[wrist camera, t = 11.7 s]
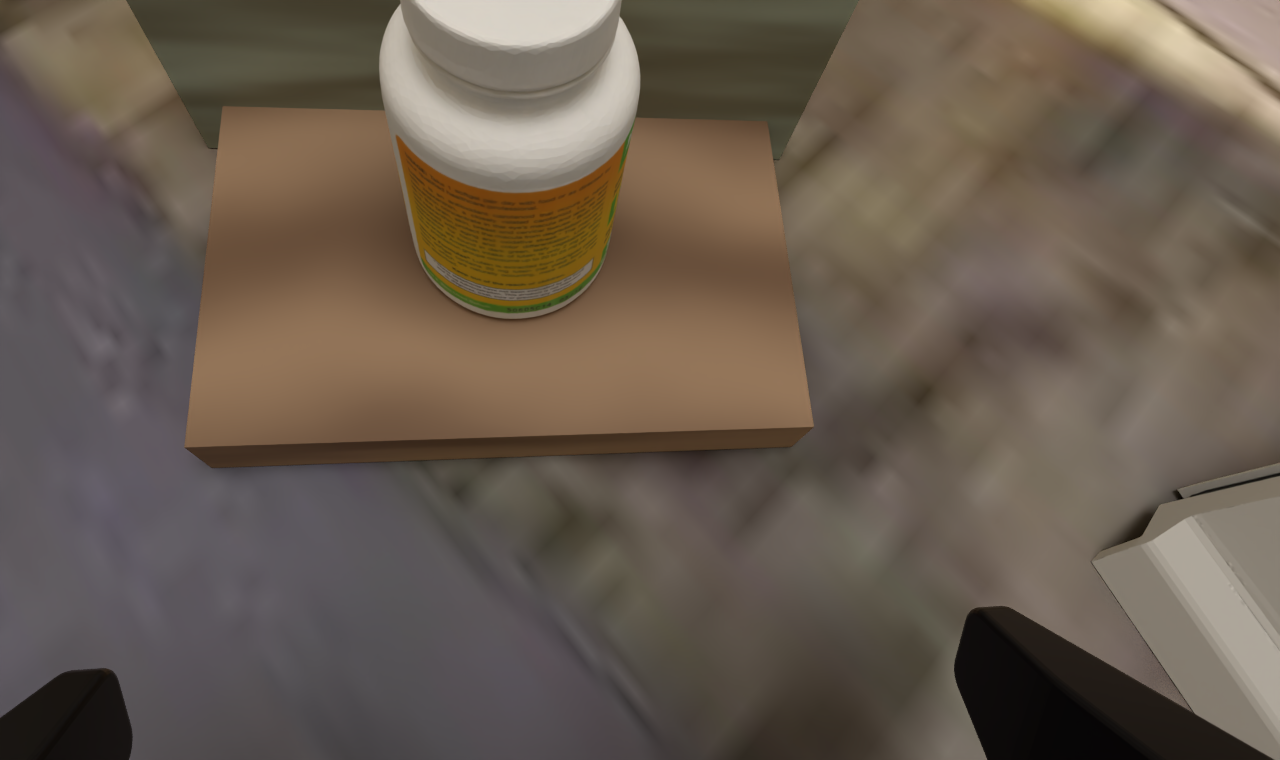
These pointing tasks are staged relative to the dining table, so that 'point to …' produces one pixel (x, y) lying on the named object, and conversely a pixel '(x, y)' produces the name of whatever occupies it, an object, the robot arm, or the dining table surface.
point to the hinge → (1212, 599)
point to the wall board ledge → (443, 329)
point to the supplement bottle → (510, 143)
